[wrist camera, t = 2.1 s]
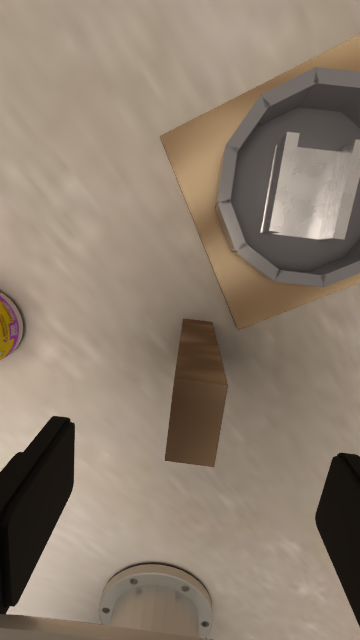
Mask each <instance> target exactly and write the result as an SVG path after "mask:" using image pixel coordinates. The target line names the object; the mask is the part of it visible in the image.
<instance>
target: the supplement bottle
mask: <svg viewBox="0 0 360 640" xmlns="http://www.w3.org/2000/svg"><path fill="white" fill-rule="evenodd" d="M22 334H23V322H22V318H21V315H20V313H19V311H18V309H17V307H16V306H15V304H14V303H13V302H12V301H11V300H10V299H9V298H8V297H7V296H5V295H4V294H2V293H1V292H0V360H1V359H3V358H5V357H6V356H8V355H9V354H11V353H12V352H13V351H14V350H15V349H16V348H17V346H18V345H19V343H20V341H21V338H22Z"/></svg>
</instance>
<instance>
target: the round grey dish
mask: <svg viewBox="0 0 360 640" xmlns="http://www.w3.org/2000/svg"><path fill="white" fill-rule="evenodd" d="M286 132H293V133H300V135H299V140H298V145H297V147H302V148H310V149H319V150H328V151H337V152H338V151H339V150H341V149H342V148H344V147H345V146H347V145H348V144H350V143H351V142H352V141H354V140H355V139H356V140H360V72H359V71H349V70H340V69H331V68H321V67H316V68H313V69H311V70H309V71H307V72H305V73H303V74H301V75H299V76H297V77H295V78H293V79H291V80H289V81H287V82H285V83H283V84H281V85H279V86H277V87H275V88H273V89H271V90H269V91H267V92H265V93H263V94H261V95H260V96H259V98H258V99H257V101H256V102H255V104H254V105H253V107H252V108H251V109H250V111H249V112H248V114H247V115H246V117H245V118H244V119H243V121H242V122H241V124H240V125H239V127H238V128H237V130H236V131H235V132H234V134H233V135H232V137H231V138H230V140H229V141H228V142H227V144H226V146H225V149H224V152H223V155H222V158H221V163H220V171H219V178H218V184H217V193H216V200H215V212H216V215H217V217H218V220H219V223H220V226H221V229H222V232H223V234H224V236H225V238H226V241H227V243H228V246H229V248H230V251H231V252H232V253H234V254H235V255H236V256H237V257H239V258H240V259H241V260H242V261H244V262H245V263H246V264H247V265H248V266H250V267H251V268H253V269H254V270H255V271H257V272H258V273H259V274H260V275H262V276H263V277H265V278H267V279H270V280H272V281H275V282H282V283H290V284H299V285H307V286H316V287H326V286H329V285H331V284H334V283H336V282H339V281H341V280H344V279H346V278H349V277H351V276H354V275H356V274H359V273H360V178H359V182H358V186H357V190H356V194H355V198H354V202H353V207H352V211H351V215H350V219H349V223H348V227H347V231H346V236H345V240H330V241H327V240H318V239H310V238H301V237H293V236H284V235H276V234H267V233H260V231H261V225H262V220H263V214H264V208H265V202H266V197H267V191H268V185H269V179H270V174H271V168H272V162H273V156H274V151H275V145H277V144H278V142H279V141H280V140H281V139H282V137H283V136H284V135H285V134H286Z"/></svg>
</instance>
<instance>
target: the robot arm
mask: <svg viewBox="0 0 360 640" xmlns="http://www.w3.org/2000/svg"><path fill="white" fill-rule="evenodd" d="M74 440H75V424H74V423H72V422H70V418H66V417H58V416H53V417H52V418H51V419H50V420H49V421H48V422H47V424H46V425H45V426H44V427H43V429H42V430H41V431H40V432H39V434H38V435H37V436H36V437H35V438H34V440H33V441H32V442H31V443H30V445H29V446H28V447H27V448H26V450H25V451H24V452H19V453H17V454H16V455H15V456H14V457H13V458H12V459H11V460H10V461H9V463H8V464H7V465H6V466H5V467H4V468H3V470H2V471H1V472H0V640H212V639H205V638H206V636H207V635H208V634H209V632H210V629H211V627H212V620H213V613H212V603H211V599H210V597H209V595H208V593H207V591H206V589H205V588H204V587H203V586H202V585H201V583H200V582H199V581H197V580H196V579H195V578H194V577H192V576H191V575H189V574H187V573H186V572H184V571H182V570H179V569H176V568H174V567H170V566H165V565H157V564H147V565H139V566H135V567H131V568H128V569H126V570H124V571H122V572H120V573H119V574H117V575H116V576H114V577H113V578H112V579H111V580H110V581H109V582H108V583H107V585H106V587H105V589H104V590H103V594H102V597H101V601H100V606H99V615H100V620H101V622H102V625H100V624H93V623H85V622H77V621H68V620H59V619H50V618H41V617H32V616H23V615H7V614H6V612H7V610H8V608H9V606H15V605H16V604H17V603H18V601H19V599H20V597H21V595H22V593H23V591H24V589H25V587H26V585H27V583H28V581H29V579H30V577H31V574H32V572H33V570H34V568H35V566H36V564H37V562H38V560H39V558H40V556H41V554H42V552H43V550H44V548H45V546H46V544H47V542H48V540H49V538H50V536H51V534H52V531H53V529H54V527H55V525H56V523H57V521H58V519H59V517H60V515H61V513H62V511H63V509H64V507H65V505H66V503H67V501H68V499H69V497H70V495H71V492H72V489H73V484H74ZM315 520H316V525H317V528H318V531H319V533H320V535H321V538H322V540H323V542H324V545H325V547H326V549H327V552H328V554H329V556H330V559H331V561H332V563H333V566H334V568H335V570H336V573H337V575H338V577H339V580H340V582H341V584H342V587H343V589H344V591H345V594H346V596H347V598H348V601H349V603H350V605H351V608H352V610H353V612H354V615H355V617H356V619H357V622H358V624H359V626H360V457H359V456H358V455H355V454H347V453H339V454H338V455H337V456H335V457H333V459H332V462H331V465H330V469H329V472H328V475H327V479H326V482H325V485H324V489H323V492H322V495H321V498H320V502H319V505H318V508H317V512H316V516H315Z"/></svg>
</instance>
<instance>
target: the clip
mask: <svg viewBox="0 0 360 640" xmlns="http://www.w3.org/2000/svg"><path fill="white" fill-rule="evenodd" d="M299 135H300V133H293V132H286V134H285V135H284V136H283V137H282V139H281V140H280V141H279V142H278V144H277V145H275V151H274V156H273V162H272V168H271V174H270V179H269V185H268V191H267V197H266V202H265V208H264V214H263V220H262V225H261V231H260V233H267V234H276V235H284V236H293V237H301V238H310V239H318V240H327V241H330V240H345V236H346V231H347V227H348V223H349V219H350V215H351V211H352V207H353V202H354V198H355V194H356V190H357V186H358V182H359V178H360V140H356V139H355V140H354V141H352V142H351V143H350V144H348V145H347V146H345V147H344V148H342V149H341V150H339V151H338V152H337V151H328V150H319V149H310V148H302V147H297V145H298V140H299Z"/></svg>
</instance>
